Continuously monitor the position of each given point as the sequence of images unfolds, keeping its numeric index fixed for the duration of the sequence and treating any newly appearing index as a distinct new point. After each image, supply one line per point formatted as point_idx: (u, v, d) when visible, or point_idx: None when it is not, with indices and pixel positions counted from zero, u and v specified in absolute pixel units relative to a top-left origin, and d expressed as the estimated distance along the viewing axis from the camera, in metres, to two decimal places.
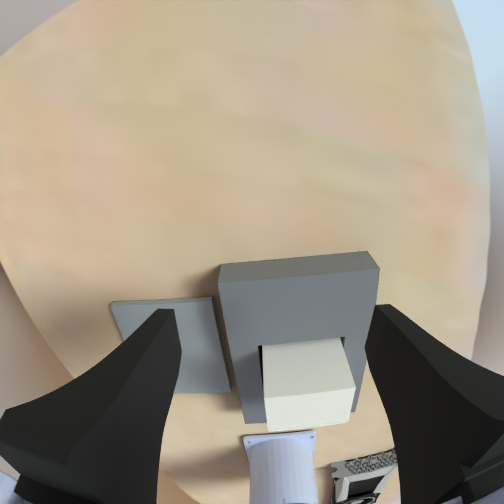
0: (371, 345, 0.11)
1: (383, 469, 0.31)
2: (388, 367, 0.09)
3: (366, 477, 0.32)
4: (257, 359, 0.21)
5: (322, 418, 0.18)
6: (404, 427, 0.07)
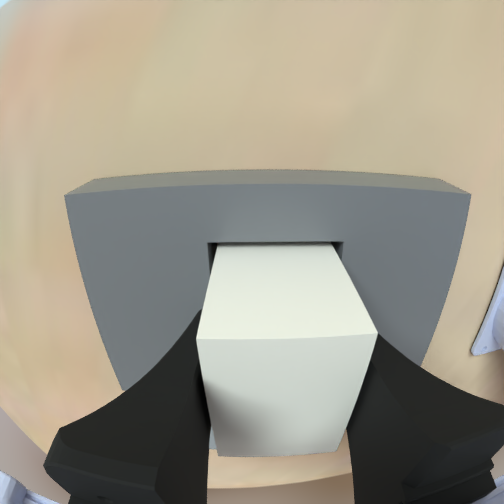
0: None
1: None
2: None
3: None
4: None
5: (323, 390, 0.07)
6: (357, 436, 0.07)
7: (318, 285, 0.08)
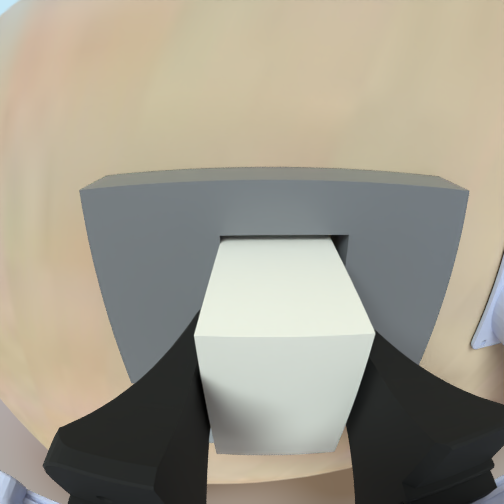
0: None
1: None
2: None
3: None
4: None
5: (320, 390, 0.07)
6: (358, 436, 0.07)
7: (318, 285, 0.08)
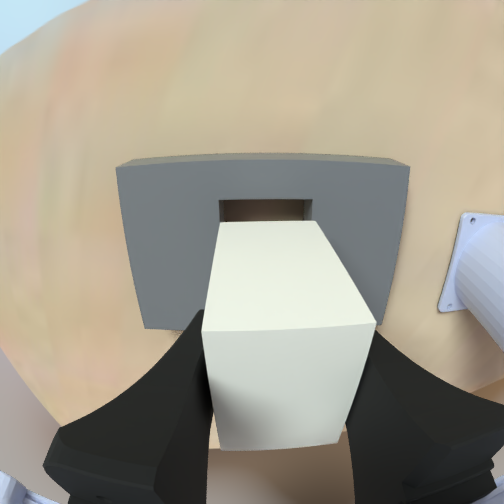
0: None
1: None
2: None
3: None
4: None
5: (324, 380, 0.08)
6: (358, 436, 0.07)
7: (317, 279, 0.09)
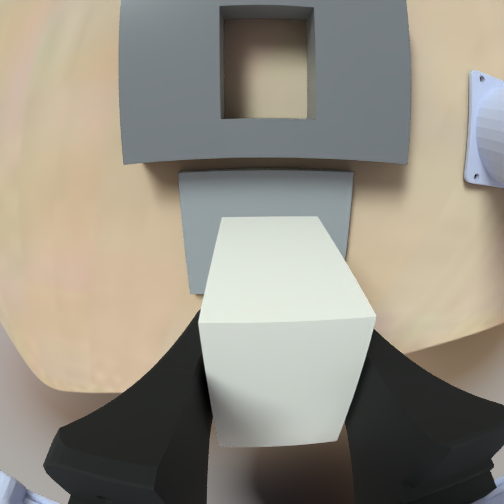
0: None
1: None
2: None
3: None
4: (248, 121, 0.14)
5: (323, 376, 0.07)
6: (357, 435, 0.07)
7: (317, 272, 0.09)
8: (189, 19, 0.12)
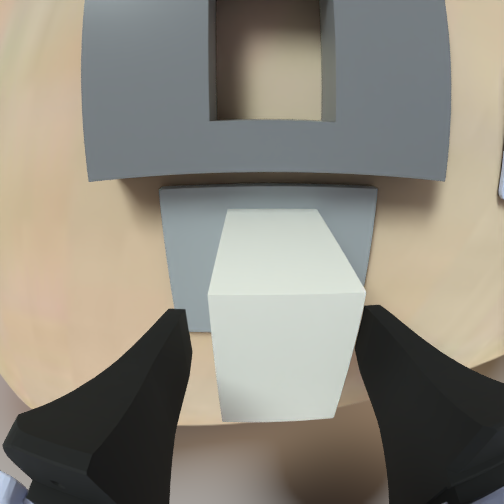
0: (361, 346, 0.11)
1: None
2: (377, 368, 0.09)
3: None
4: (246, 123, 0.11)
5: (319, 348, 0.08)
6: (393, 429, 0.07)
7: (314, 256, 0.10)
8: None
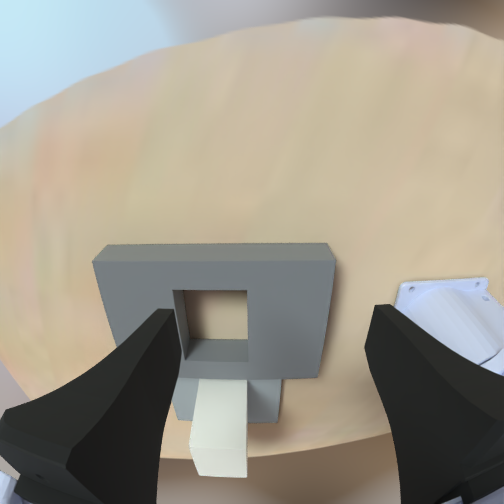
0: (371, 345, 0.11)
1: None
2: (388, 367, 0.09)
3: None
4: (203, 362, 0.21)
5: (232, 459, 0.19)
6: (404, 427, 0.07)
7: (232, 425, 0.20)
8: (151, 298, 0.19)
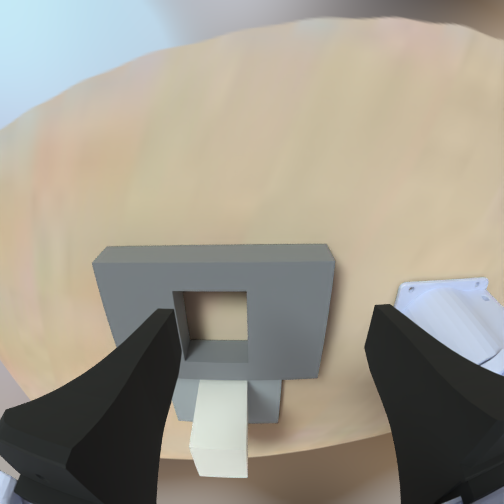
0: (371, 345, 0.11)
1: None
2: (388, 367, 0.09)
3: None
4: (203, 363, 0.21)
5: (232, 460, 0.19)
6: (404, 427, 0.07)
7: (233, 426, 0.20)
8: (151, 299, 0.19)
